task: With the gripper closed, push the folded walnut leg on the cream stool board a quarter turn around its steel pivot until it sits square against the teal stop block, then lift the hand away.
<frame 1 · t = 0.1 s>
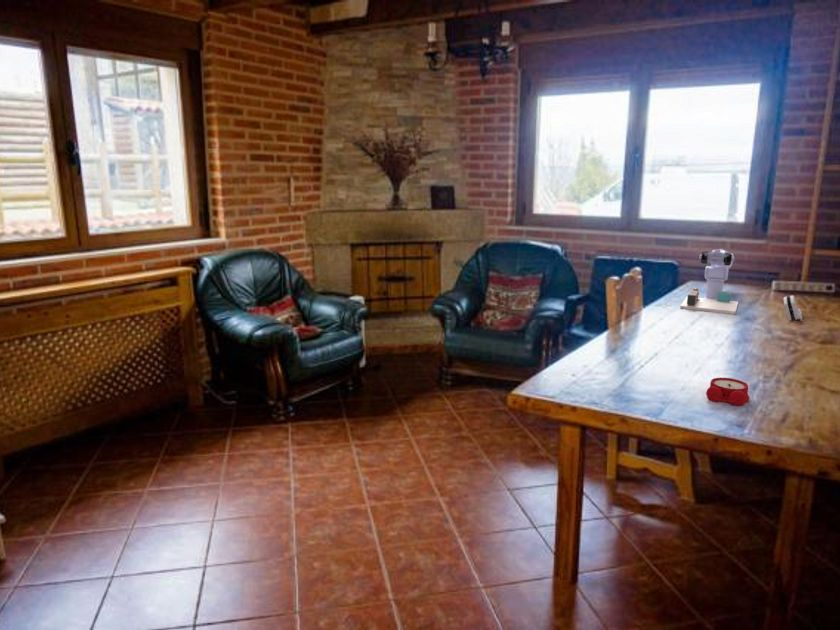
hand: (715, 259, 269), 22 cm above the table, tool horizontal, fingers open, 7 cm apart
stool board: (709, 306, 274), on the table
folding leg: (693, 296, 275), point 4 cm above the table, hinge at 0.0°
hinge: (791, 317, 256), on the table
alarm clock: (726, 399, 164), on the table
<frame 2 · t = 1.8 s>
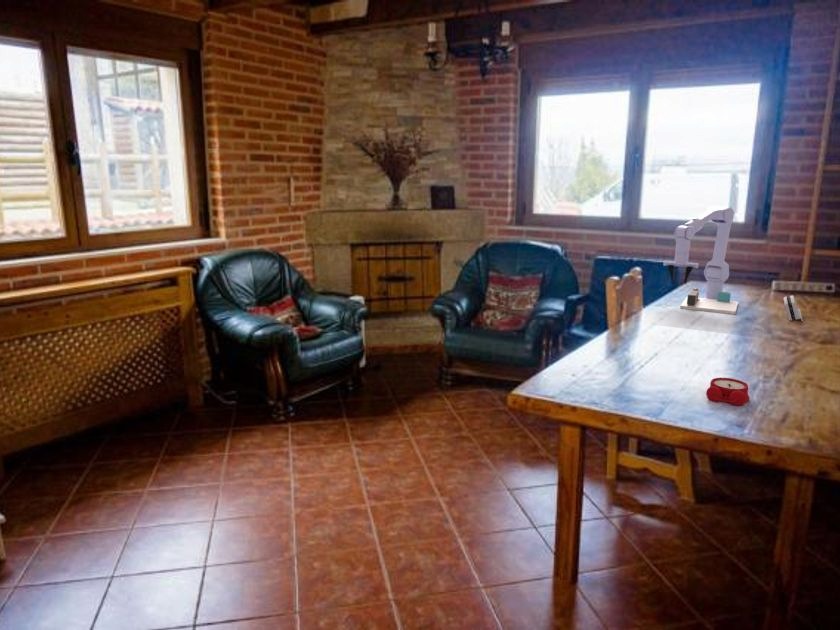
hand: (678, 282, 275), 10 cm above the table, tool pointing down, fingers open, 5 cm apart
nothing on the table moved.
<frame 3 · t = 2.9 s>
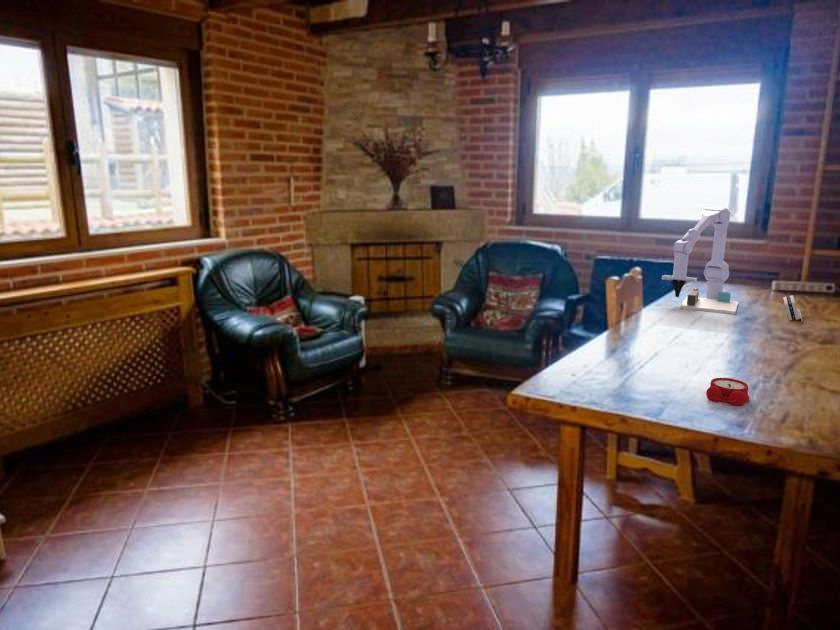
hand: (677, 296, 276), 4 cm above the table, tool pointing down, fingers closed
nothing on the table moved.
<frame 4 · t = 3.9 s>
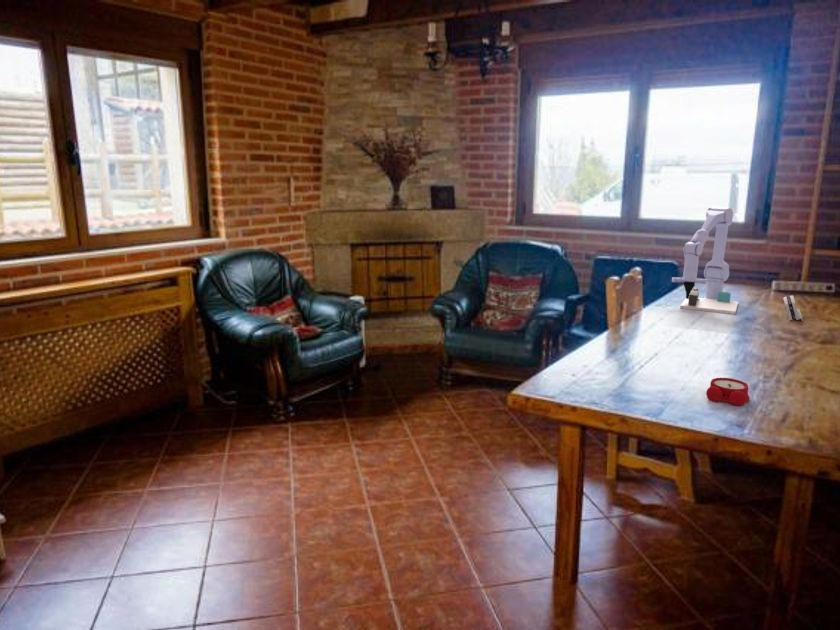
hand: (687, 298, 274), 3 cm above the table, tool pointing down, fingers closed
folding leg: (694, 296, 275), point 4 cm above the table, hinge at 2.2°, touching gripper
everything else where it was.
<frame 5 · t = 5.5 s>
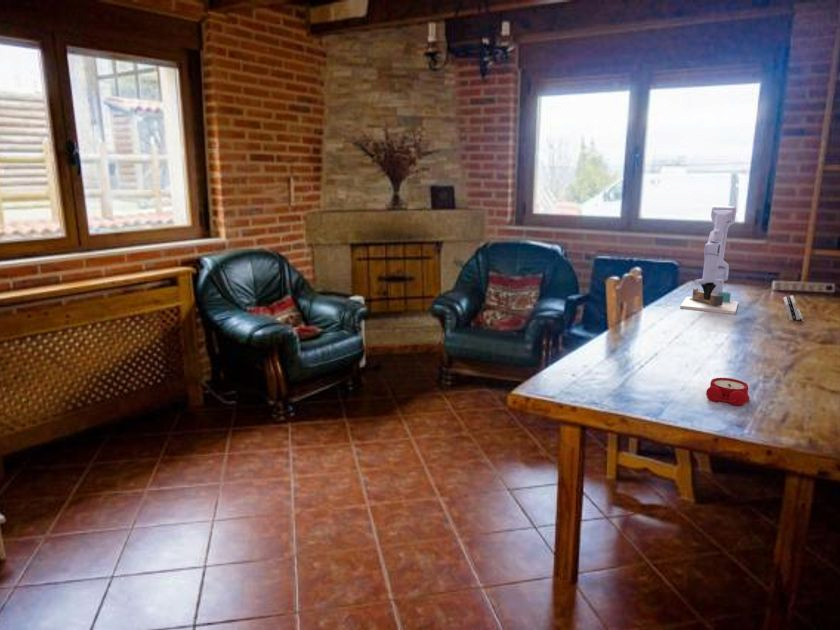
hand: (706, 299, 272), 4 cm above the table, tool pointing down, fingers closed, pressing on folding leg
folding leg: (706, 296, 275), point 4 cm above the table, hinge at 46.5°, touching gripper
everything else where it was.
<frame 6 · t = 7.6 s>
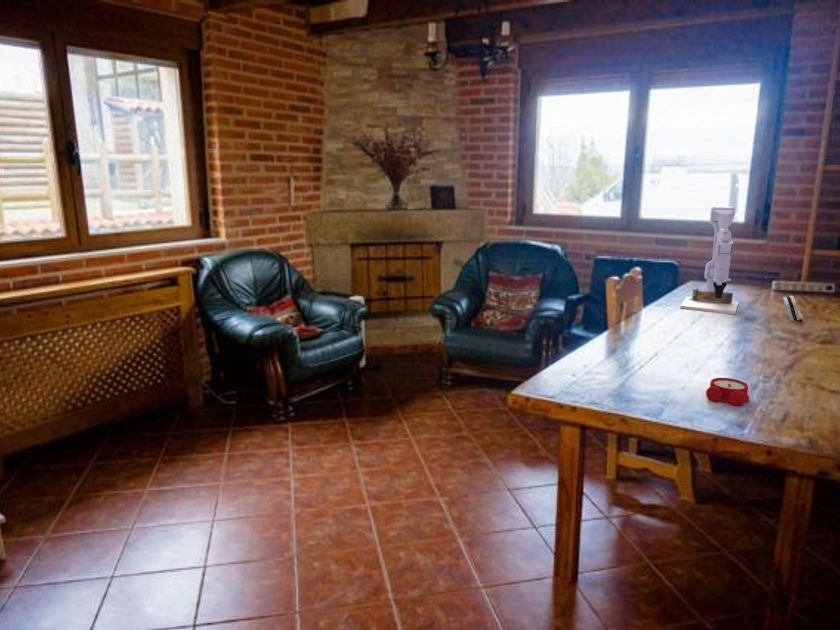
hand: (718, 298, 274), 3 cm above the table, tool pointing down, fingers closed
folding leg: (712, 295, 278), point 4 cm above the table, hinge at 88.7°, touching gripper
everything else where it was.
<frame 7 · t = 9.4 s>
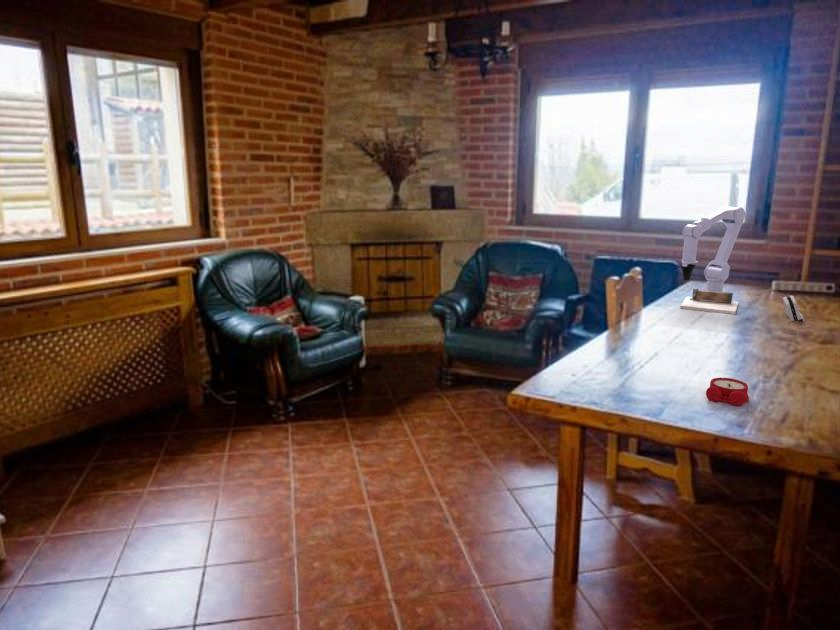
hand: (686, 280, 280), 10 cm above the table, tool pointing down, fingers closed
folding leg: (712, 295, 278), point 4 cm above the table, hinge at 88.7°
everything else where it was.
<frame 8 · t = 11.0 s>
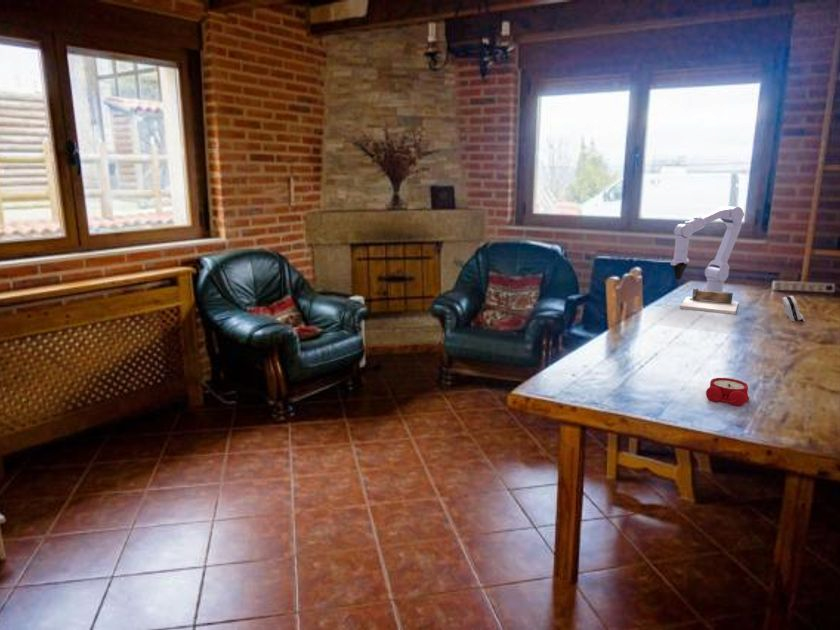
hand: (678, 279, 283), 10 cm above the table, tool pointing down, fingers closed
nothing on the table moved.
at the end: folding leg at +89° (first picture: +0°) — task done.
